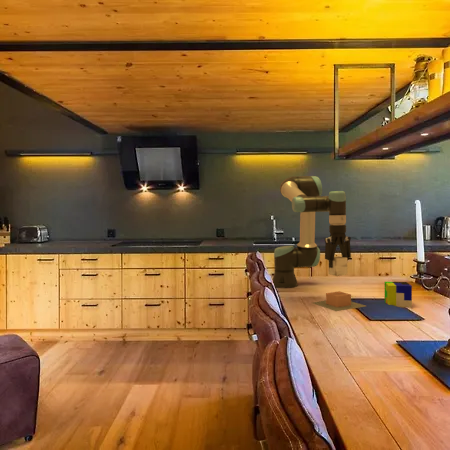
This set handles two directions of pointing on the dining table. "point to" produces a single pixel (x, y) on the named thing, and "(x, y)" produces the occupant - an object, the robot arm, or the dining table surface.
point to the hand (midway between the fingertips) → (338, 273)
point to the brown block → (340, 266)
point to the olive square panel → (353, 305)
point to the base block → (338, 299)
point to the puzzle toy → (398, 294)
